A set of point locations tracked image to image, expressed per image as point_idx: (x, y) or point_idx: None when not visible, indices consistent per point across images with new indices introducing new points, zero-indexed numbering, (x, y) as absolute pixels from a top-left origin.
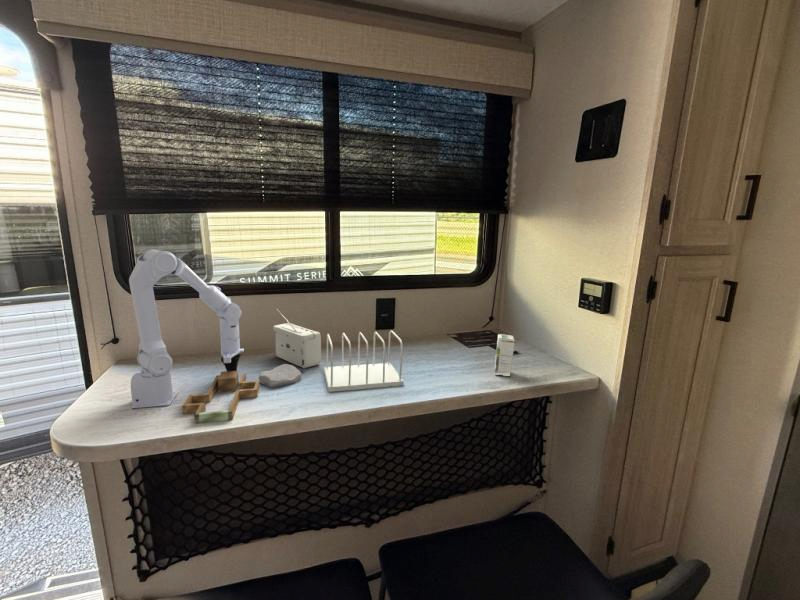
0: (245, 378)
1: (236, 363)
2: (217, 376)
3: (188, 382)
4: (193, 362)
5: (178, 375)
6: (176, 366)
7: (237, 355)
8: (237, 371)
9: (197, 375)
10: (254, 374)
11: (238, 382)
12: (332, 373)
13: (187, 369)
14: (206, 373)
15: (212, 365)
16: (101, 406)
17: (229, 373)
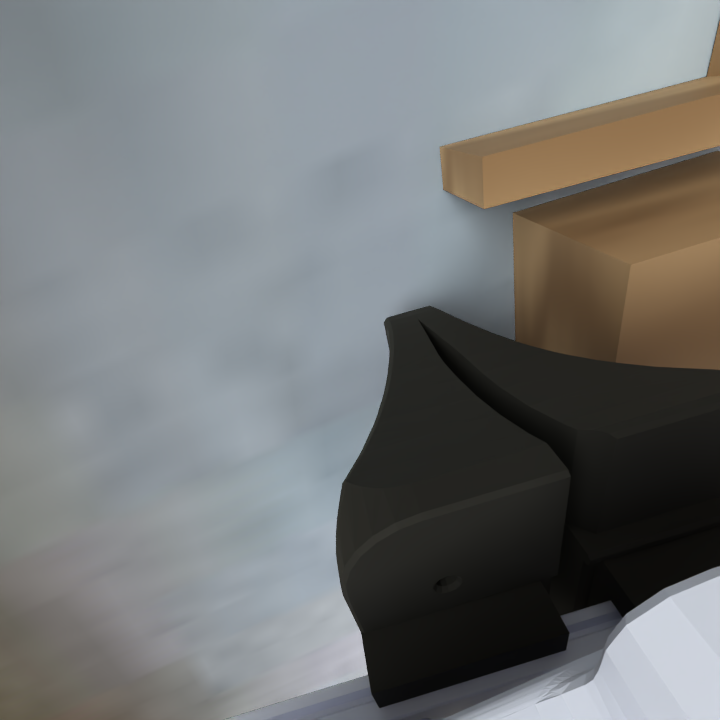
0: (508, 136)
1: (616, 369)
2: None
3: None
4: (90, 694)
5: (328, 637)
6: (191, 705)
7: (562, 524)
8: (671, 253)
9: (320, 575)
10: (214, 91)
11: (517, 214)
12: None
13: (224, 655)
14: (275, 554)
15: (93, 603)
16: None
17: (703, 334)
